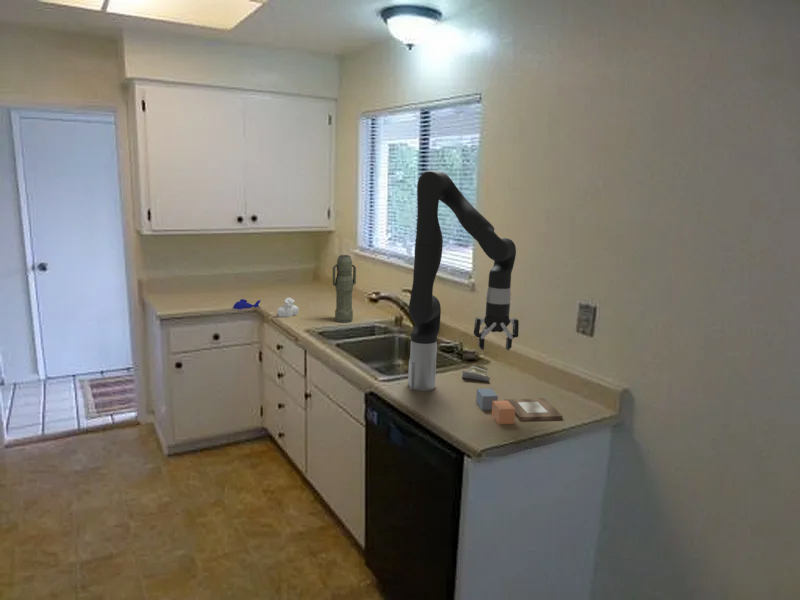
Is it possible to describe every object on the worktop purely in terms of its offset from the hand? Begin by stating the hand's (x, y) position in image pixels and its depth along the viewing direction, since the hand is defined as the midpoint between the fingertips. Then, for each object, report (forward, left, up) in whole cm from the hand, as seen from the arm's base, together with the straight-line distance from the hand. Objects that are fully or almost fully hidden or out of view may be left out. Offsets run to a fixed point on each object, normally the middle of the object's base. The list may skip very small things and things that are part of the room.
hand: (494, 349), depth 188 cm
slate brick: (-2, -2, -19) cm, 19 cm away
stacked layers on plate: (+1, +23, -19) cm, 30 cm away
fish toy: (-95, +144, -19) cm, 174 cm away
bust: (-72, +126, -19) cm, 147 cm away
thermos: (-43, +113, -19) cm, 123 cm away
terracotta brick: (0, -13, -19) cm, 23 cm away
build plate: (+12, -7, -19) cm, 23 cm away
